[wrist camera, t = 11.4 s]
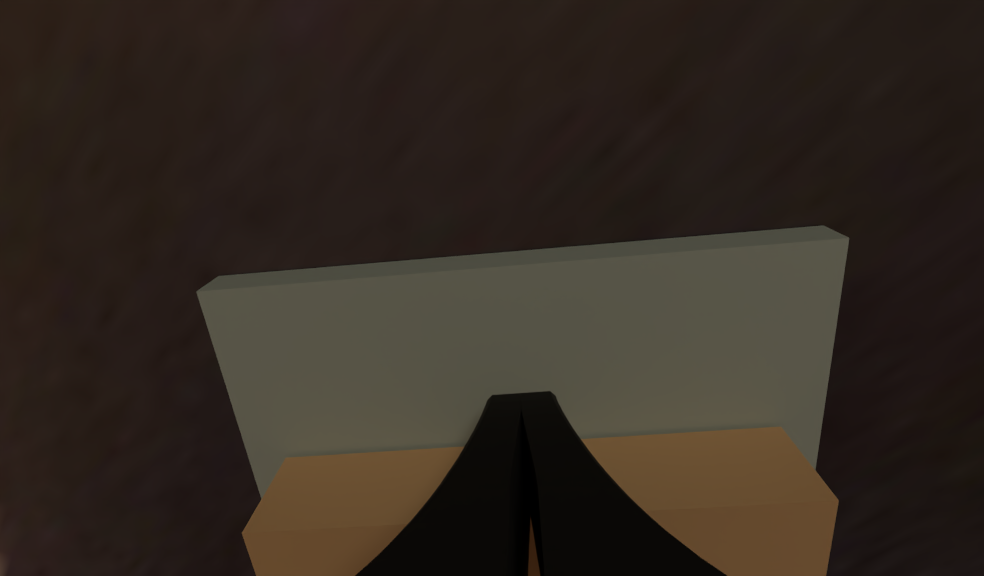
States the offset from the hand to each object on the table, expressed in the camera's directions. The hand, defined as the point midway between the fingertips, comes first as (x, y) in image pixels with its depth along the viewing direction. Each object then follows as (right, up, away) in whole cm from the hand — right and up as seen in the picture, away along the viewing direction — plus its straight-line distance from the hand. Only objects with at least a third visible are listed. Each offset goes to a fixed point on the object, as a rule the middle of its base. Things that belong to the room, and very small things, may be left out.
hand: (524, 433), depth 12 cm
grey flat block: (+1, -3, +4) cm, 5 cm away
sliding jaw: (0, -2, +2) cm, 4 cm away
